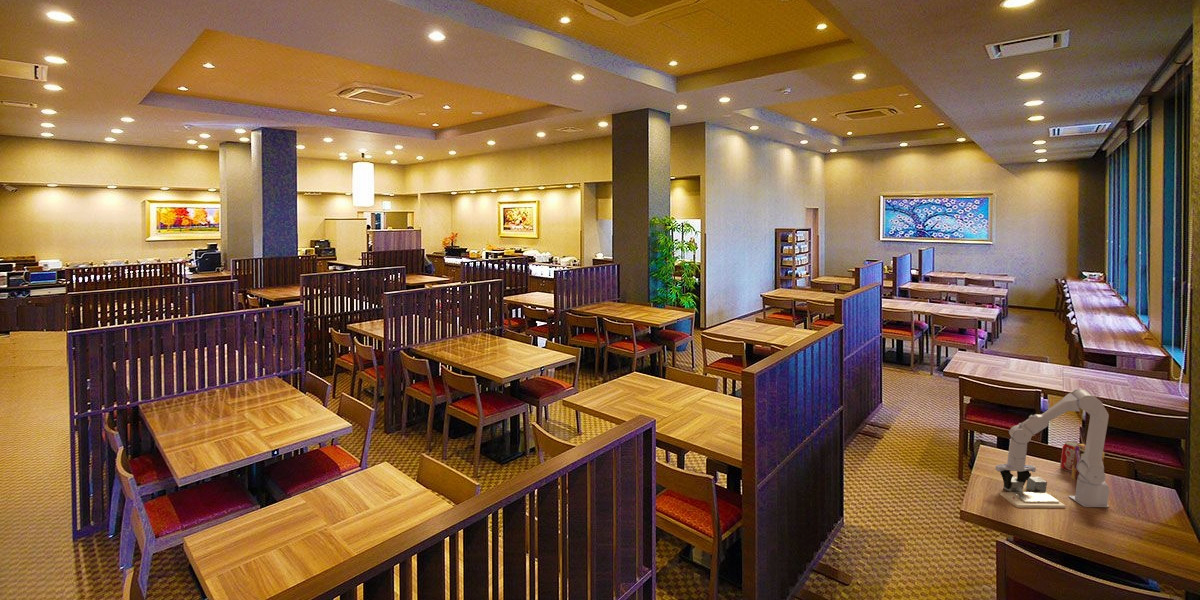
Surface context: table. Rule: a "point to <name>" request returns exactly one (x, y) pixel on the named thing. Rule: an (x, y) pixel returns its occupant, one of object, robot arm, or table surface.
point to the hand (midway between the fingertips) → (1013, 487)
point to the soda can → (1068, 455)
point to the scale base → (1021, 504)
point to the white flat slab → (1035, 497)
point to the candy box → (1077, 457)
